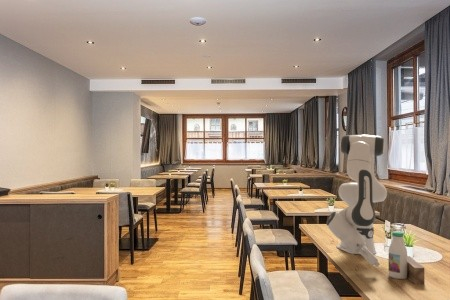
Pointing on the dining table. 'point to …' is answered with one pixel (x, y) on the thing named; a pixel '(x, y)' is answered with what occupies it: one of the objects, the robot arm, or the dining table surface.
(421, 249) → the dining table surface
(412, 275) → the walnut block
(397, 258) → the milk bottle
